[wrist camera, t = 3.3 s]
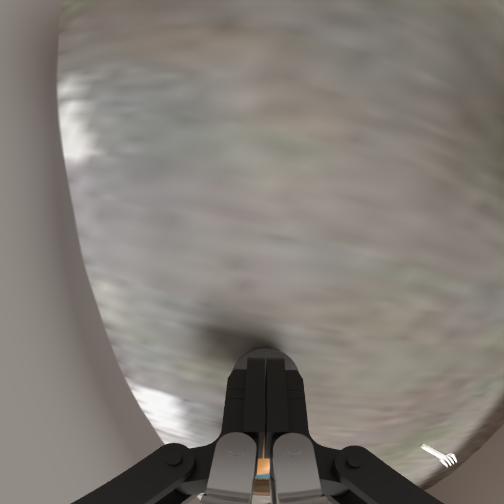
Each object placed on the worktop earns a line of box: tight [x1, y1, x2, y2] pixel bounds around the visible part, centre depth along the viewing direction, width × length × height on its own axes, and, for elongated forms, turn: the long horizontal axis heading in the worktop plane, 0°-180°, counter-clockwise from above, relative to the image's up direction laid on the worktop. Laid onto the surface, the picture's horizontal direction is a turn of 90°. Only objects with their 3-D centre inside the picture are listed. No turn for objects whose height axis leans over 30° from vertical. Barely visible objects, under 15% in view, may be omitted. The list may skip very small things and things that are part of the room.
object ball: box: [257, 447, 270, 475], centre depth 28 cm, size 6×6×6 cm
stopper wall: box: [253, 480, 271, 496], centre depth 38 cm, size 2×14×2 cm, turn 89°
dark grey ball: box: [232, 348, 299, 374], centre depth 22 cm, size 6×6×6 cm
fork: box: [420, 444, 457, 467], centre depth 36 cm, size 3×20×2 cm, turn 46°
